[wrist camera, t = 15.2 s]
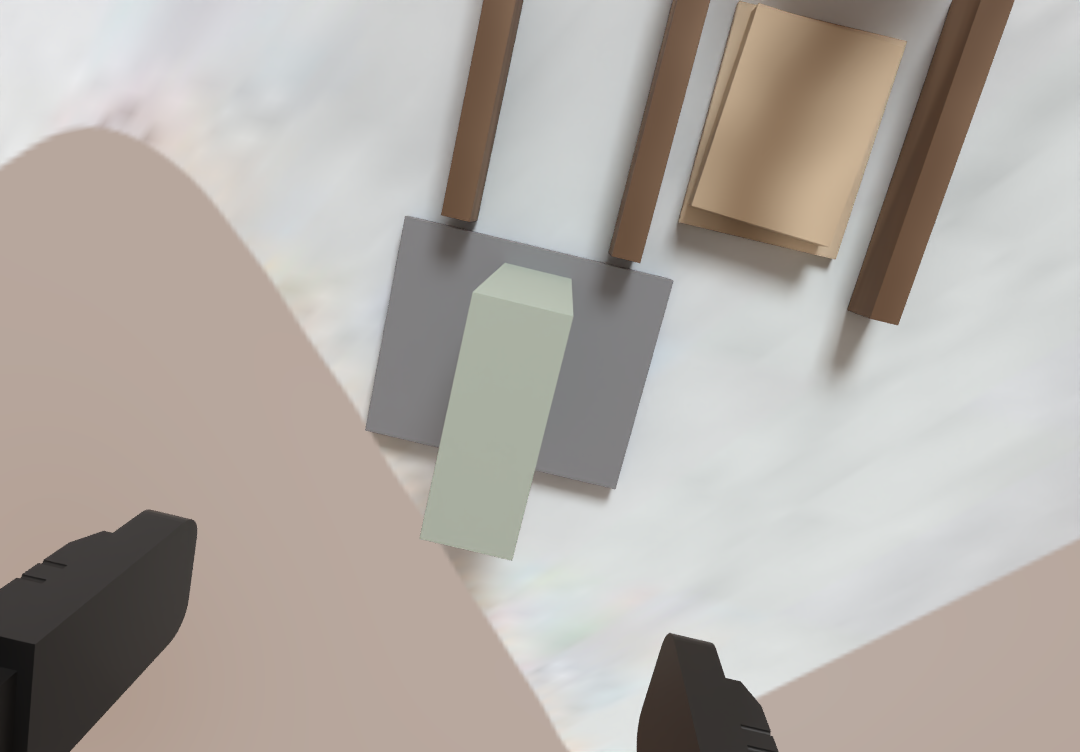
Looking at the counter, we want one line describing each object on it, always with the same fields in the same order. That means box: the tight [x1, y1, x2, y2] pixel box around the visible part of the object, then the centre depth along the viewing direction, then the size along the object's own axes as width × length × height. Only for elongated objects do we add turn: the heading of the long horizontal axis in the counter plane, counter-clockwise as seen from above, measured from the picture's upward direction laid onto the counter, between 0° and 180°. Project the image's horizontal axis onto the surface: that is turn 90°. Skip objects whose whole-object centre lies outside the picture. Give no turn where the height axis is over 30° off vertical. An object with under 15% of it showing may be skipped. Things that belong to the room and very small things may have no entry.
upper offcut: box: [687, 3, 905, 247], centre depth 30 cm, size 6×8×1 cm
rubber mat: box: [365, 216, 673, 489], centre depth 33 cm, size 12×10×1 cm
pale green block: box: [420, 263, 573, 561], centre depth 27 cm, size 3×8×11 cm, turn 166°
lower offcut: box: [678, 1, 907, 259], centre depth 31 cm, size 7×9×1 cm
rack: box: [441, 0, 1014, 325], centre depth 29 cm, size 19×13×2 cm
